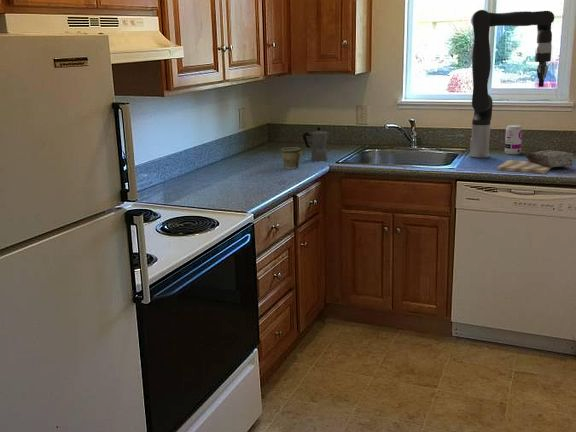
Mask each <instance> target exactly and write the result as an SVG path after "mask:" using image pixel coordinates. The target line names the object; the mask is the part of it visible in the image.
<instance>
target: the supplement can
mask: <svg viewBox="0 0 576 432" xmlns="http://www.w3.org/2000/svg"><path fill="white" fill-rule="evenodd" d="M522 137H523V128H522V125H518V124H509V125H507V126H506V128H505V140H504V141H505V142H504V152H505V154H507V155H520V154H521V152H522V151H521V150H522V139H523V138H522Z"/></svg>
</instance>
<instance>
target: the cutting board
mask: <svg viewBox="0 0 576 432" xmlns="http://www.w3.org/2000/svg"><path fill="white" fill-rule="evenodd" d="M552 168H553V167H546V166H542V165H540V164H536V163H533V162H530V161H529V160H527V161H526V160H516V159H515V160H514V159H507V160H505V161H504V162H502V163H501V164H499V165H498V166H497V167H496V170H497V171H503V172H504V171H505V172H506V171H507V172H515V173H516V172H518V173H519V172H520V173H531V174H532V173H533V174H541V173H542V174H543V175H544V174H545V173H546V174H547V173H548V172H549V171H550V170H551V169H552Z"/></svg>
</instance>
